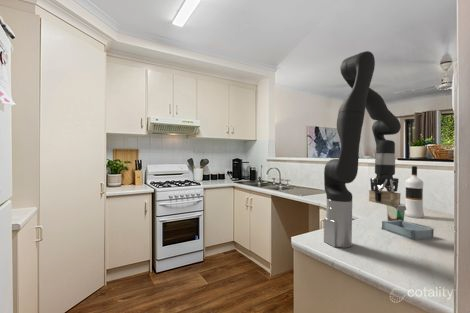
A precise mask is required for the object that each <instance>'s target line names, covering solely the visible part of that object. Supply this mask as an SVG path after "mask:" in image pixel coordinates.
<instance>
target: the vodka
mask: <svg viewBox="0 0 470 313" xmlns="http://www.w3.org/2000/svg"><path fill="white" fill-rule="evenodd" d="M423 190H424V181H423V180H422V179H420V178H419V177H418V166H416V165H413V166H411V177H408V178H407V179H406V180H405V198H404V199H405V204H404V205H405V207H406V210H405V214H404V216H406V217H409V218H414V219H423V218H424V216H425V213H424V205H423V204H424V200H423V199H424V198H423V197H424V195H423V194H424V191H423Z"/></svg>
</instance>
